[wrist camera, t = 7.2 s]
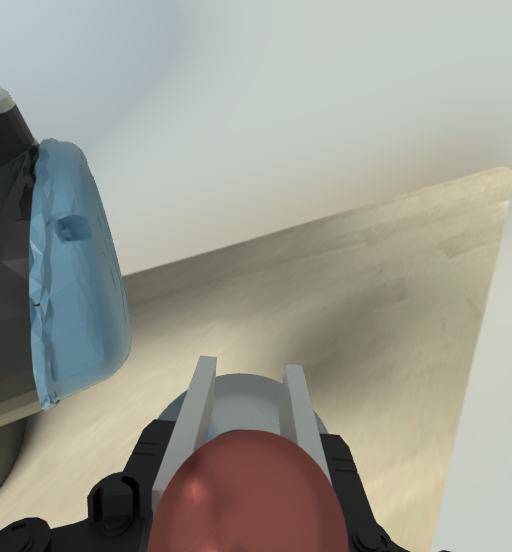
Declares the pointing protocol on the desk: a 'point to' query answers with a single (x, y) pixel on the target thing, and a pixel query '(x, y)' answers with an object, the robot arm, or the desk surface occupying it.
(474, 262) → the desk surface
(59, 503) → the desk surface
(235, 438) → the lid
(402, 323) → the desk surface
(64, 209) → the robot arm
